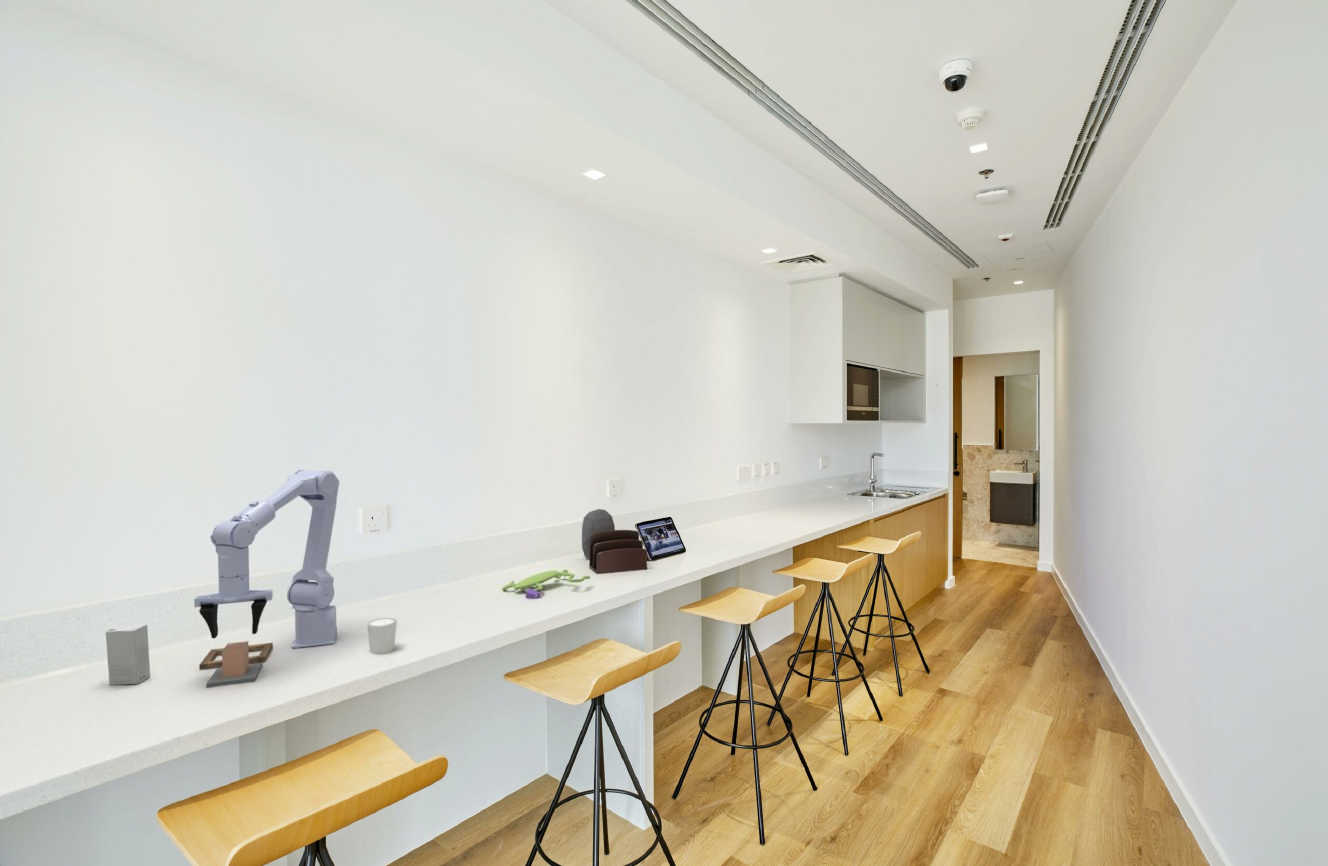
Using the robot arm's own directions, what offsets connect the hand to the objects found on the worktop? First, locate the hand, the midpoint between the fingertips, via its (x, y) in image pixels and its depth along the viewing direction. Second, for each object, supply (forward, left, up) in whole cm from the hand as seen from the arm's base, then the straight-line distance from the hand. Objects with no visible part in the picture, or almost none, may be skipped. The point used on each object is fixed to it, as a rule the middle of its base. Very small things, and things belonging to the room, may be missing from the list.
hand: (235, 634), depth 146 cm
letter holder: (-110, -63, -10) cm, 127 cm away
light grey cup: (-30, -6, -10) cm, 32 cm away
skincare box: (+21, -5, -10) cm, 24 cm away
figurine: (-80, -45, -10) cm, 92 cm away
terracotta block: (0, 0, -9) cm, 9 cm away
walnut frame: (+2, -12, -9) cm, 15 cm away
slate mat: (0, 0, -9) cm, 9 cm away
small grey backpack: (-108, -81, -10) cm, 135 cm away
